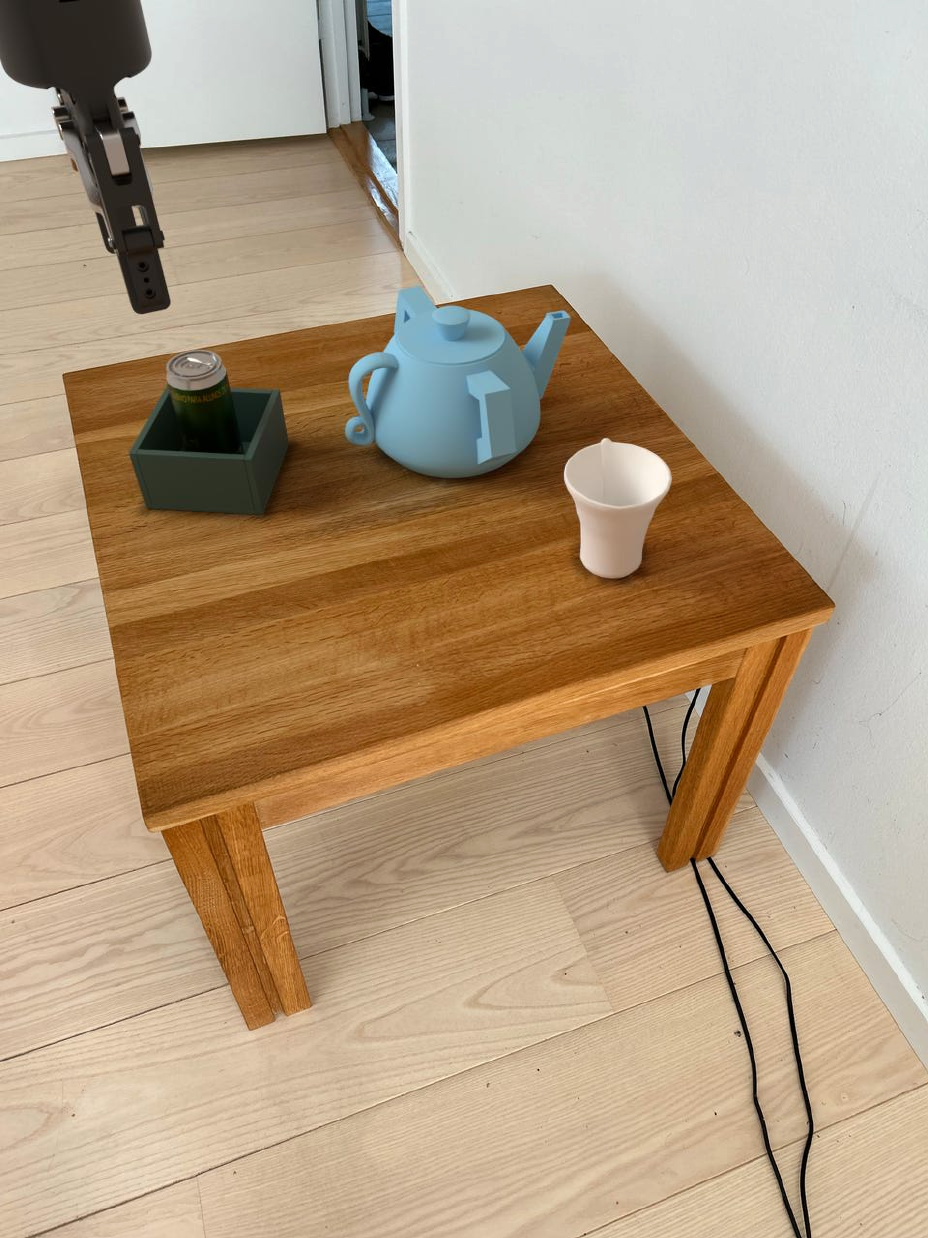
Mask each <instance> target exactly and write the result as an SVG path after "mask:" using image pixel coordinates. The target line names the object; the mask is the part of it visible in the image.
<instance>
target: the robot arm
mask: <svg viewBox="0 0 928 1238" xmlns="http://www.w3.org/2000/svg"><path fill="white" fill-rule="evenodd" d="M143 10H144V9H143V6H142V1H141V0H0V64H1V67H2V69H3V71H4V72H5V74H6V75H7V76H8V77H9V78H10V79H11V80H12V81H14V82H15V83H17V84H20V85H23V86H26V87H28V88H34V89H40V90H49V89H51V88H54V90H55V91H54V92H55V94H56V97H57V100H58V101H57V102H58V105H55V106H51V107H50V108H51V112H52V116H53V119H54V123H55V126H56V128H57V131H58V134H59V137H60V140H61V141H63V144H64V147H65V150H66V153H67V155H68V158H69V161H70V164H71V166H72V169H73V170H74V171H75V172H78V175H79V179H80V182H81V185H82V187H83V190H84V193H85V196H86V199H87V203H88V205H89V207H90V209H91V210H92V211H93V212H94V213H95V217H96V220H97V225H98V228H99V230H100V235H101V238H102V242H103V245H104V246H105V249H106V250H107V252H109V253H110V254H113V255H116V259H117V261H118V265H119V268H120V272H121V275H122V279H123V283H124V286H125V289H126V290H125V291H126V293H127V296H128V297H127V298H128V301H129V304H130V306H131V308H132V310H133V311H134V313H136V314H138V315H146V314H151V313H155V312H161V311H164V310H167V309H169V307H170V306H171V303H172V302H171V297H170V293H169V289H168V284H167V280H166V277H165V272H164V268H163V264H162V261H161V257H160V256H161V255H160V253H159V249H164V248H165V244H164V241H165V240H166V238H165V235H164V231H163V230H161V227H160V223H159V219H158V214H157V211H156V207H155V203H154V198H153V195H154V188H153V185H152V181H151V178H150V175H149V172H148V169H147V165H146V161H145V159H144V155H143V152H142V149H141V146H142V133H141V130H140V128H139V124H138V121H137V117H136V115H135V112H134V110H129V107H128V104H127V101H126V100H127V99H126V97H125V96H119V97H117V94H116V92H115V87H116V86H117V85H118V84H119V83H120V82H121V81H122V80H124V79H126V78H128V79H131V78H134V77H136V76H138V75H139V74H141V73H142V72H143V71H145V70H146V69H147V68H148V67H149V65H150V64H151V61H152V57H153V53H152V52H153V51H152V47H151V43H150V37H149V33H148V28H147V24H146V19H145V14H144V11H143ZM133 207H134V208H136V209H137V210H138V212H139V215H140V218H141V221H142V224H138V225H137V222H136V217H135V214H134V209H133Z"/></svg>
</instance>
